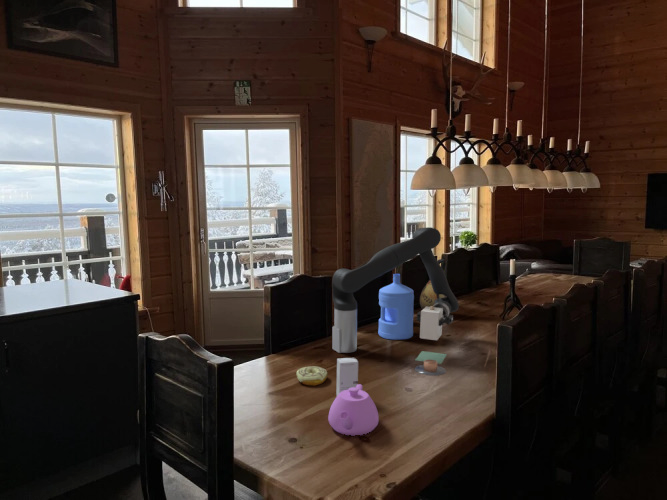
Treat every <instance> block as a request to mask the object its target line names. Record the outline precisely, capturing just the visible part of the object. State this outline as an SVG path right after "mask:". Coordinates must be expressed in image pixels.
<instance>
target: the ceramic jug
mask: <svg viewBox="0 0 667 500" xmlns="http://www.w3.org/2000/svg"><path fill="white" fill-rule="evenodd" d="M436 260H437V262H438V263H439V264H441V265H440V266H441V267H442V269H443V271H444V272H445V269H446V260H445V259H443V258H440V259H436ZM444 297H446V296H445V295H443V294H435V293H434V291H433V288H432V284H431V281H430V279H429V280H428V282H427V283H426V284H425V285H424V287H423V289H422V291H421V293H420V296H419V305H420V308H421V309H422V310H423V309H424V308H425V307H426V306H427V307H430V306H433V305H434V301H435V300H436V299H439V298H444ZM422 310H421V311H422Z"/></svg>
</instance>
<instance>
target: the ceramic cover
mask: <svg viewBox="0 0 667 500" xmlns="http://www.w3.org/2000/svg"><path fill="white" fill-rule="evenodd" d="M420 311H421V322H419V324H420V325H419V327H420V328H419V338H420V339H423V340H431V341H439V338H440V337H441V336H442V335H443V325H441V326H439V320H440V319H441V317H442V315H443V308H436V307H434V306H430V307H427V306H426V307H425V308H424V309H423V310H420Z"/></svg>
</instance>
